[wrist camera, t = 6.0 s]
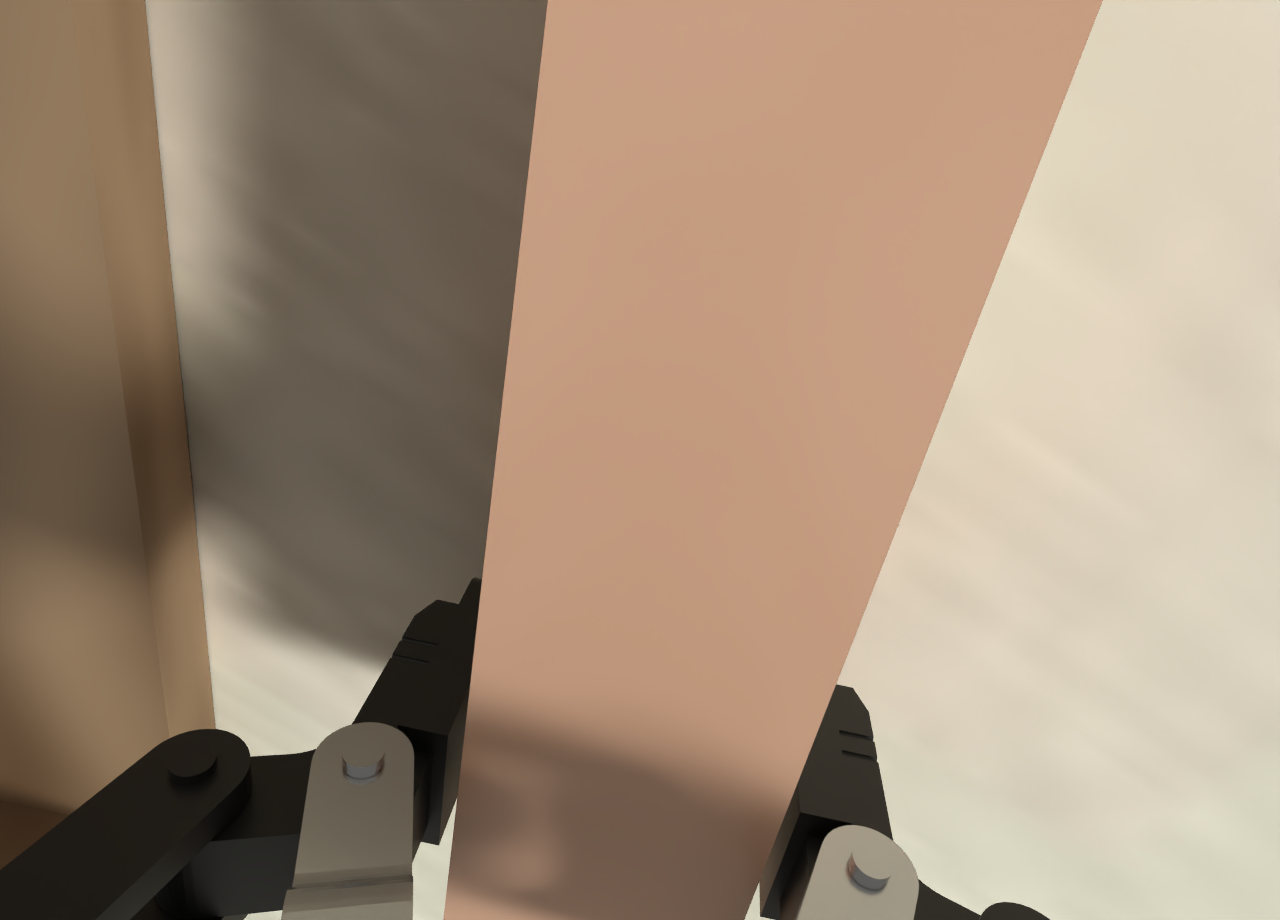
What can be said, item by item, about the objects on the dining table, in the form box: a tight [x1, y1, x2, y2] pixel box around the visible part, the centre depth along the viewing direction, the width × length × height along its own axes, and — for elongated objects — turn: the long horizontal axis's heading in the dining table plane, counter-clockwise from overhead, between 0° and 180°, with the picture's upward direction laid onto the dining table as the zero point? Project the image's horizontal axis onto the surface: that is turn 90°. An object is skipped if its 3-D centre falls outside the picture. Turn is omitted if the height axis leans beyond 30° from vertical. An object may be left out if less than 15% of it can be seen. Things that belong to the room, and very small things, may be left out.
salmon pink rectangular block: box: [444, 0, 1103, 920], centre depth 11 cm, size 4×16×6 cm, turn 170°
